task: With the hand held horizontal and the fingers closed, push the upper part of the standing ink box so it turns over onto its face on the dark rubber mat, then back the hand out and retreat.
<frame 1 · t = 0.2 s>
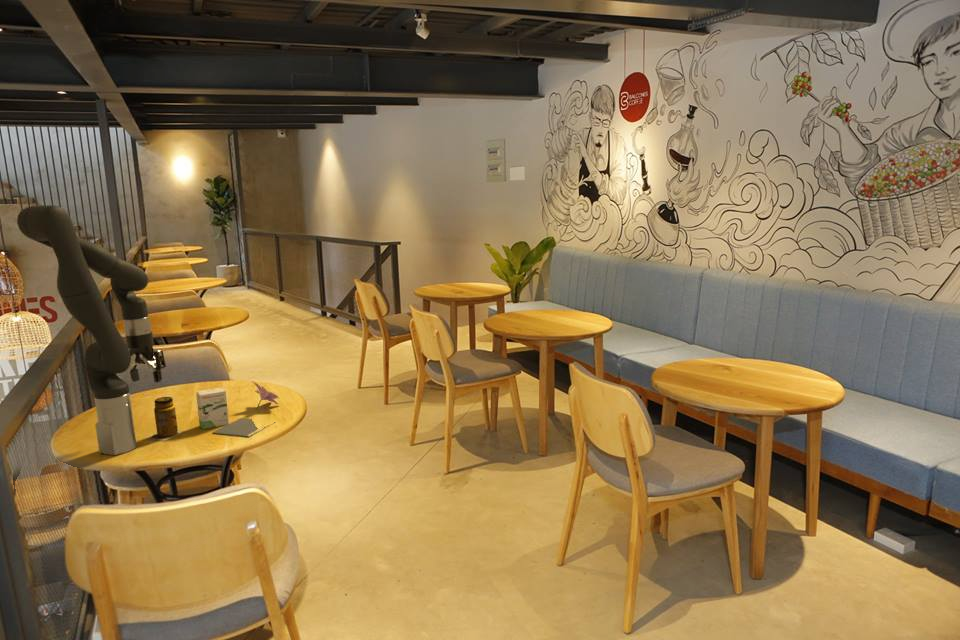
hand: (147, 381, 208), 17 cm above the table, tool pointing down, fingers open, 8 cm apart
mat: (244, 427, 214), on the table
lily: (266, 407, 235), on the table
condiment: (165, 436, 210), on the table
ink box: (214, 425, 218), on the table
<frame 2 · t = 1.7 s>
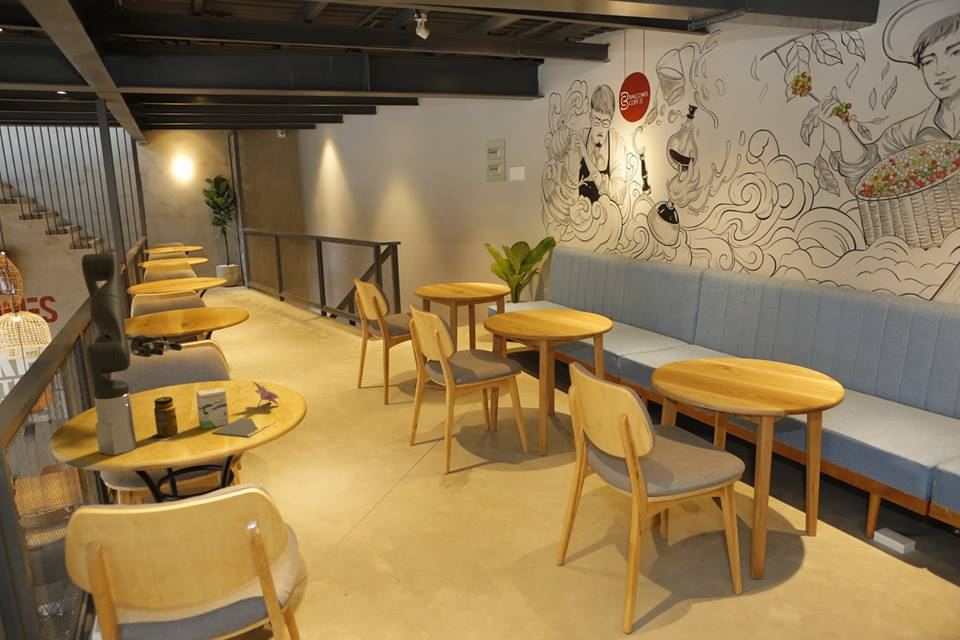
hand: (171, 349, 221), 24 cm above the table, tool horizontal, fingers open, 6 cm apart
nothing on the table moved.
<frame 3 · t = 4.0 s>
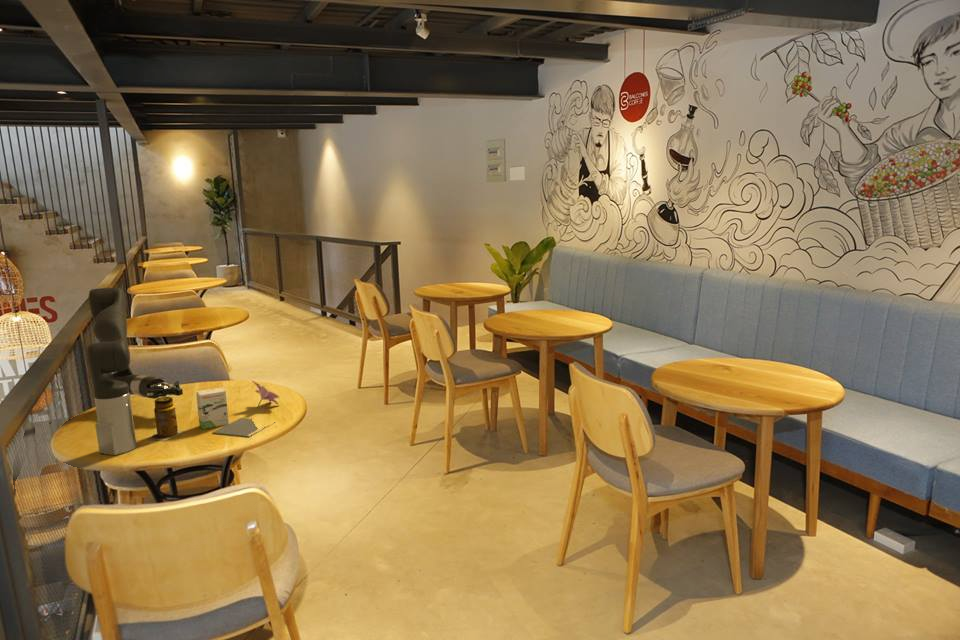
hand: (180, 392, 223), 10 cm above the table, tool horizontal, fingers closed
nothing on the table moved.
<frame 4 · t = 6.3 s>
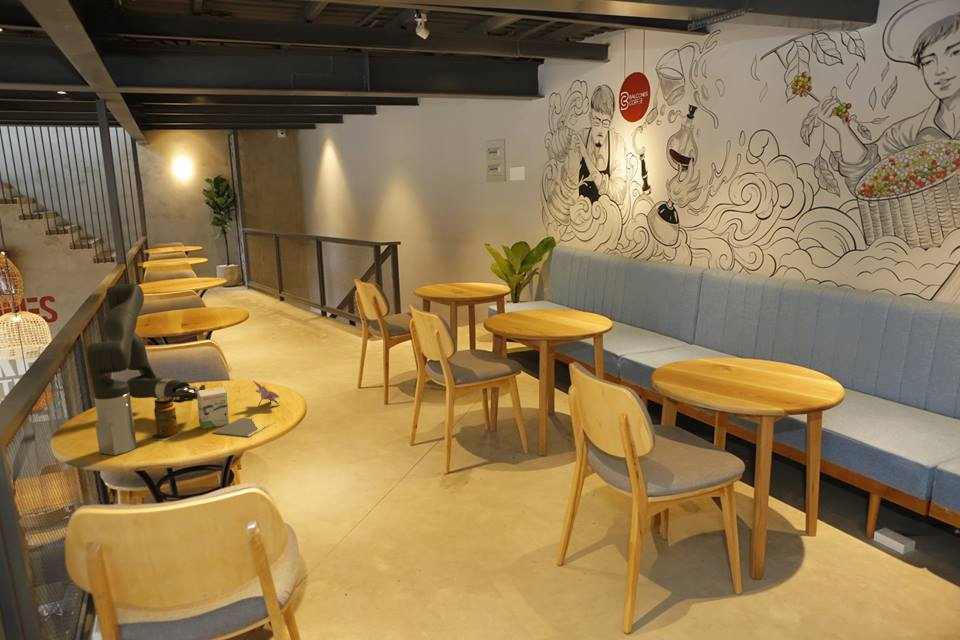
hand: (207, 396, 217), 10 cm above the table, tool horizontal, fingers closed
ink box: (214, 424, 218), on the table, touching gripper
everything else where it was.
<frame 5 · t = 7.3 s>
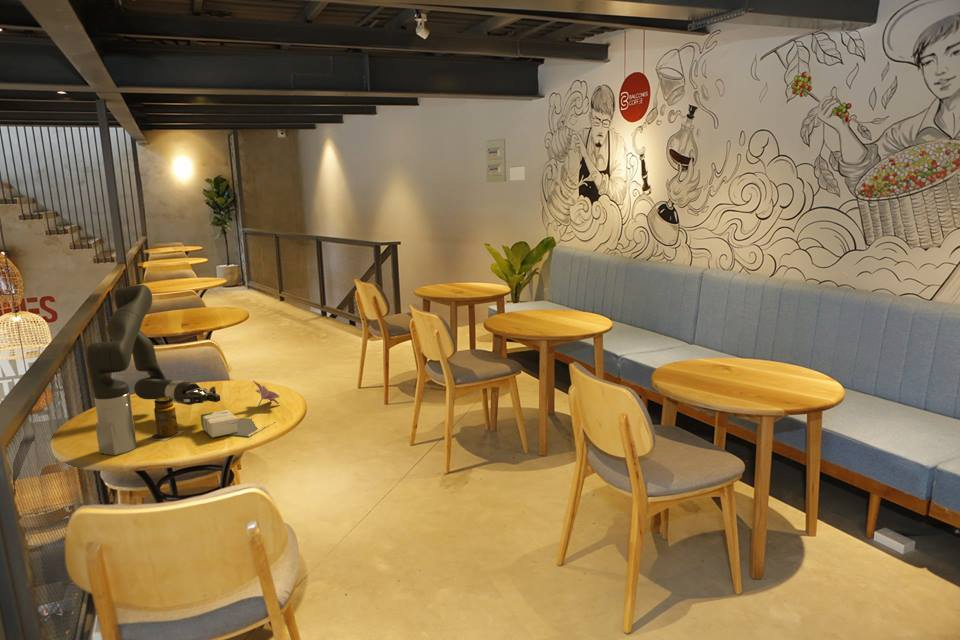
hand: (218, 398, 215), 10 cm above the table, tool horizontal, fingers closed
ink box: (214, 418, 216), point 3 cm above the table, touching mat
everything else where it was.
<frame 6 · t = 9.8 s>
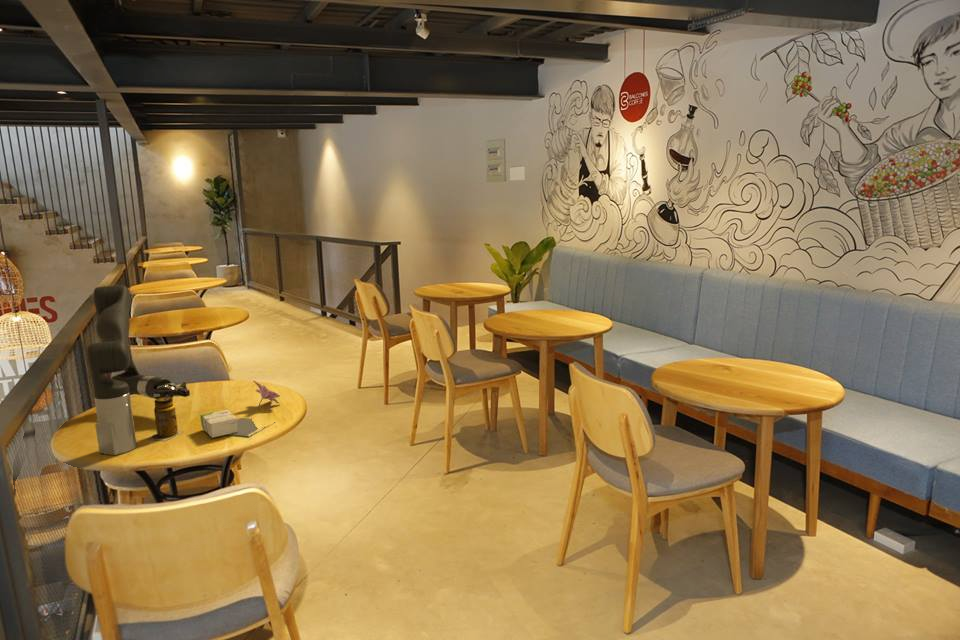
hand: (187, 393, 222), 9 cm above the table, tool horizontal, fingers closed
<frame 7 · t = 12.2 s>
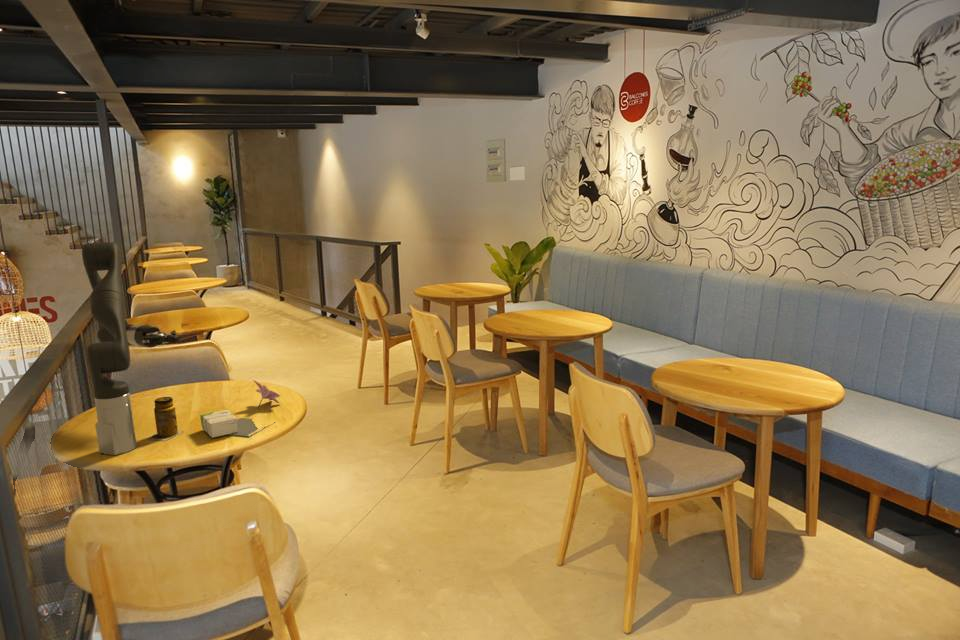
hand: (177, 339, 219), 28 cm above the table, tool horizontal, fingers closed
at the end: ink box tilted 90°; ink box inside the target area (9.5 cm from its centre), point 2.9 cm above the table; the gripper is holding nothing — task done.
